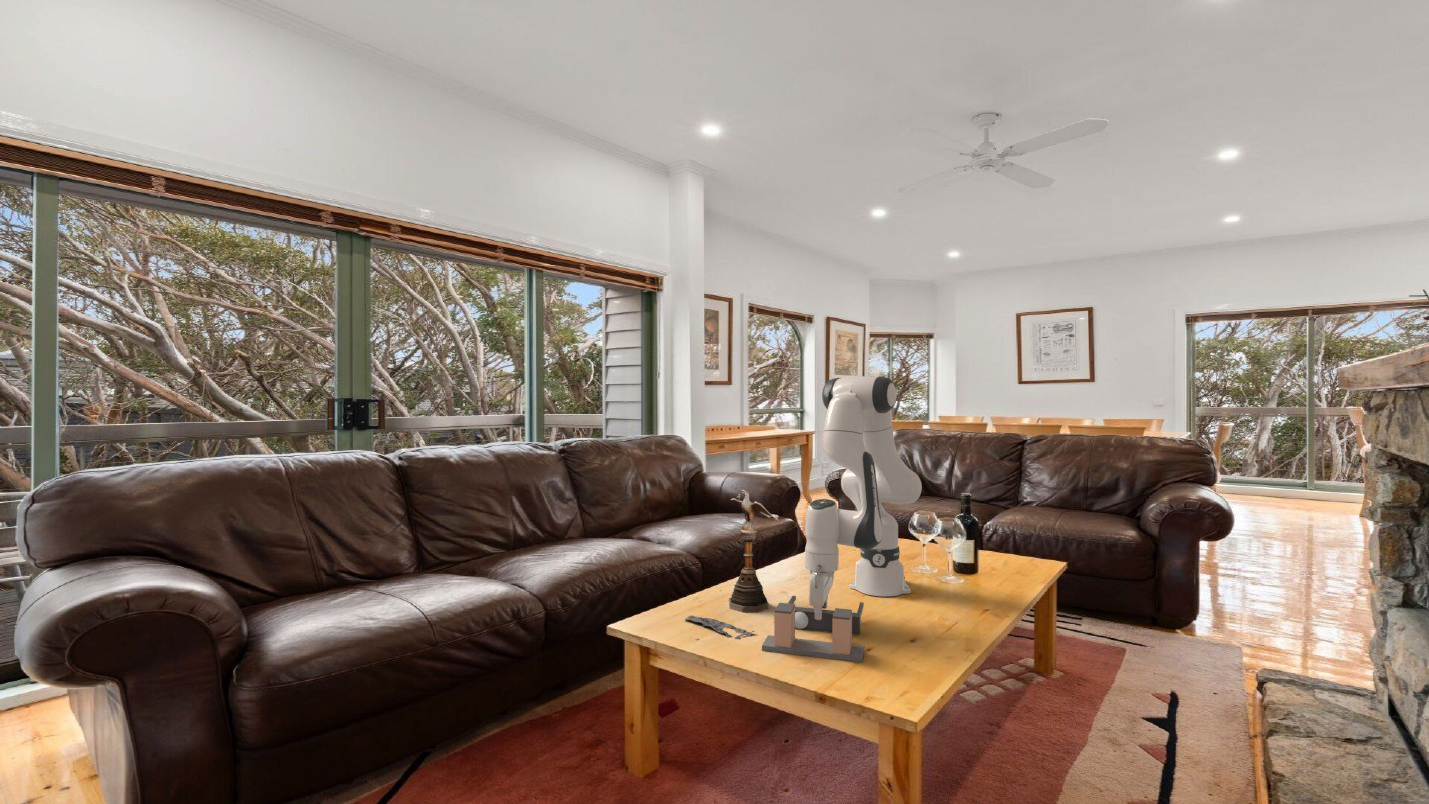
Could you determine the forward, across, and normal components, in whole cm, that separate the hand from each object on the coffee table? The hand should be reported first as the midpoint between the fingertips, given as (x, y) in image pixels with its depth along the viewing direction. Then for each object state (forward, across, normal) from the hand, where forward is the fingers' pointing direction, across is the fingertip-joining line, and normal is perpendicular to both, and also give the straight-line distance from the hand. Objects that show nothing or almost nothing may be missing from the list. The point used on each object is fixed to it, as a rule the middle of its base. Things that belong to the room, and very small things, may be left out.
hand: (821, 613), depth 174 cm
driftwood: (+5, -8, +27) cm, 28 cm away
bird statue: (+4, +14, +23) cm, 27 cm away
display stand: (+4, -16, 0) cm, 16 cm away
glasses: (+4, +4, 0) cm, 6 cm away
